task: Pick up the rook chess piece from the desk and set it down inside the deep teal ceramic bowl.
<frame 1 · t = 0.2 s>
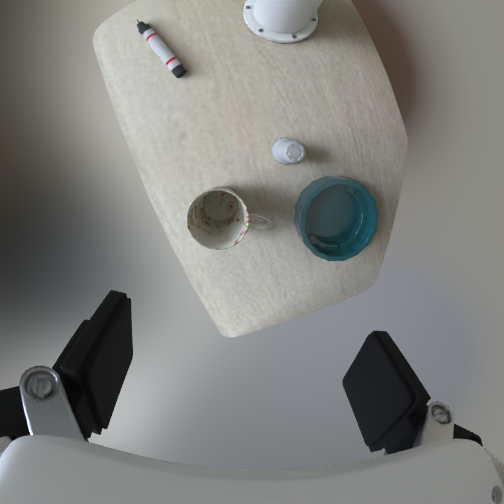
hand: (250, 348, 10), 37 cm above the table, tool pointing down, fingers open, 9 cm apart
rook chess piece: (285, 150, 42), on the table
mug: (233, 206, 45), on the table
bowl: (331, 213, 46), on the table
marker: (159, 47, 33), on the table
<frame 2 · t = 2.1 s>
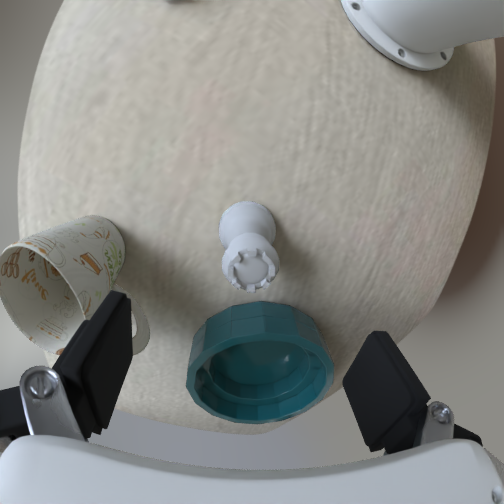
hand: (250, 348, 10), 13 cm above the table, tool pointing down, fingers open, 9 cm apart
rook chess piece: (246, 226, 22), on the table
mug: (114, 261, 23), on the table
bowl: (257, 352, 27), on the table
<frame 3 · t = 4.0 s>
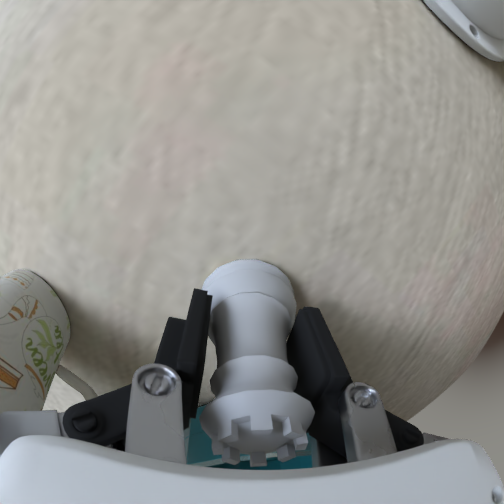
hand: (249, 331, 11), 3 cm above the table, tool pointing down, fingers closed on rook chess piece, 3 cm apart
rook chess piece: (246, 295, 13), on the table, touching gripper
mug: (59, 330, 14), on the table
bowl: (261, 434, 18), on the table
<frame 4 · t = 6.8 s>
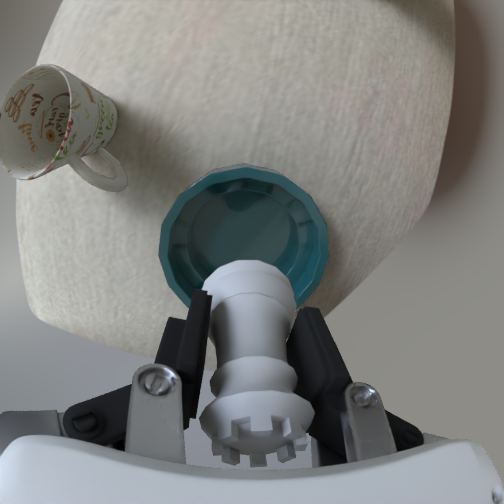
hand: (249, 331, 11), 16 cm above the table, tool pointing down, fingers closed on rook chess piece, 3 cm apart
rook chess piece: (246, 295, 13), point 13 cm above the table, touching gripper
mug: (105, 136, 21), on the table
bowl: (242, 235, 26), on the table
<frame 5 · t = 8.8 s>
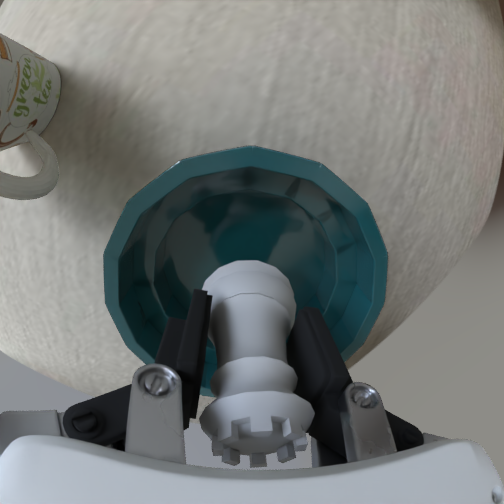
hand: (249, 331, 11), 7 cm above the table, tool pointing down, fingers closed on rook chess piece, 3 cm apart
rook chess piece: (246, 295, 13), point 4 cm above the table, touching gripper
mug: (45, 116, 12), on the table
bowl: (244, 262, 17), on the table
when the fingers open (3 cm above the table, at t = 10.0 s): rook chess piece stays where it is, resting on bowl.
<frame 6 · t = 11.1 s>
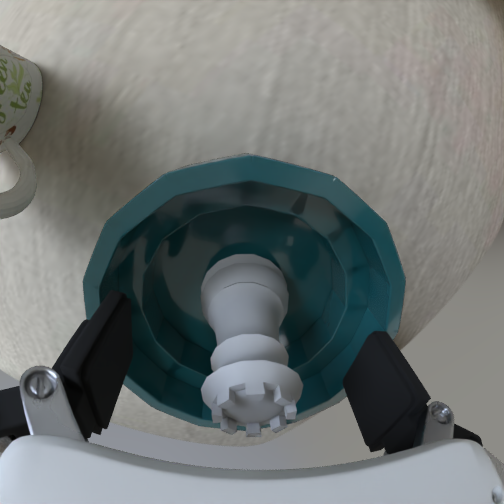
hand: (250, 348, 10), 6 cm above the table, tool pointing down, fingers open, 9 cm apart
rook chess piece: (243, 287, 15), resting on bowl
mug: (27, 121, 10), on the table
bowl: (243, 284, 15), on the table
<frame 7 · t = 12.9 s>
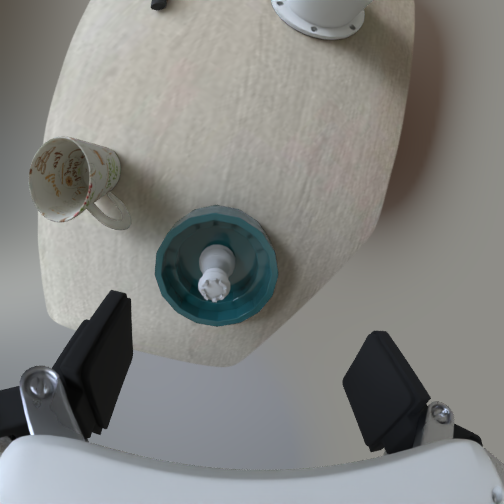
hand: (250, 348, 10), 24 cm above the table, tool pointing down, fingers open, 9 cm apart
rook chess piece: (217, 259, 34), resting on bowl
mug: (111, 180, 30), on the table
bowl: (217, 258, 34), on the table
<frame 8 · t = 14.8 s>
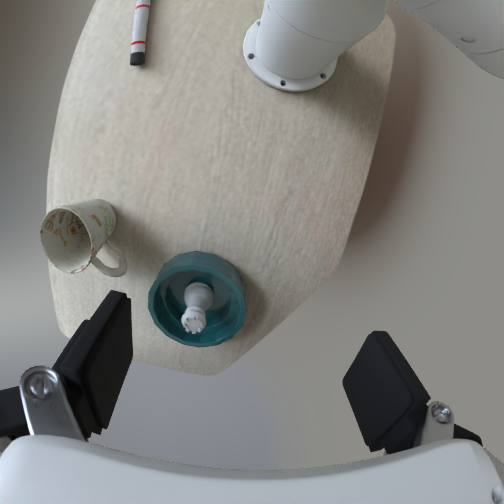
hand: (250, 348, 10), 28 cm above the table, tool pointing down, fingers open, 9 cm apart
rook chess piece: (199, 293, 40), resting on bowl
mug: (109, 227, 36), on the table
bowl: (199, 291, 41), on the table
marker: (143, 22, 25), on the table
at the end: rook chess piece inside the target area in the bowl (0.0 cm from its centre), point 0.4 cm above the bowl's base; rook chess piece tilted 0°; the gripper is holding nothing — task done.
